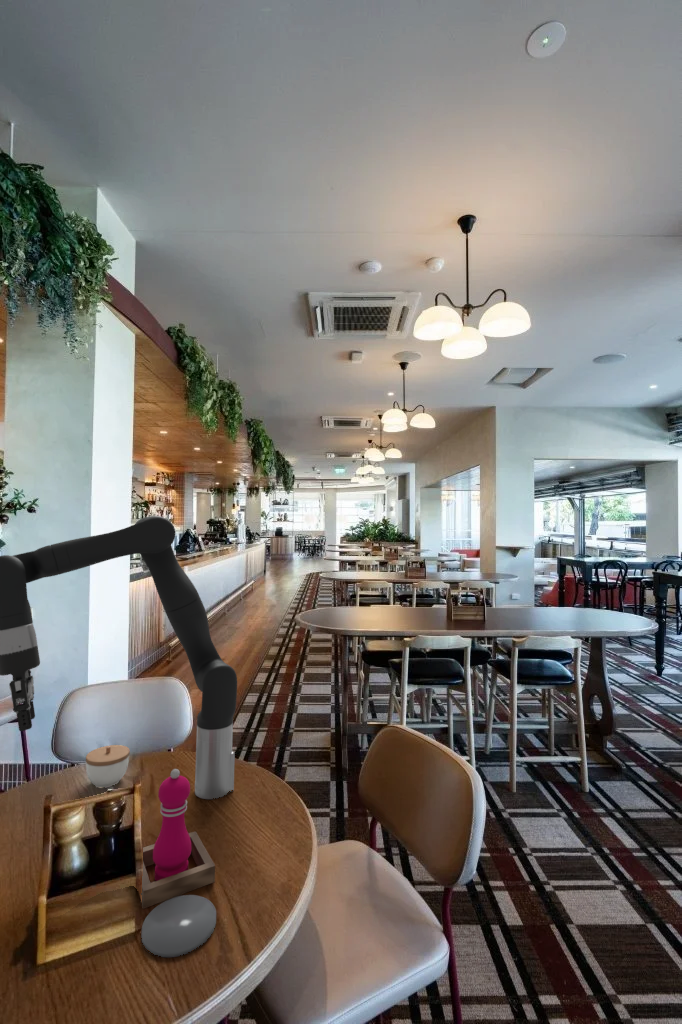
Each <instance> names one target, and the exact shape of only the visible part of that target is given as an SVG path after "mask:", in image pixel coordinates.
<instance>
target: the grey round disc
mask: <svg viewBox="0 0 682 1024" xmlns="http://www.w3.org/2000/svg"><path fill="white" fill-rule="evenodd" d="M216 925H217V909H216V907H215V905H214V904H213V902H212V901H211V900H209V898H206V897H203V896H201V895H196V894H185V895H184V894H182V895H179V896H176V897H173V898H171V899H168V900H165V901H163V902H160V903H159V904H158V905H157V906H155V907H154V908H153V909H152V910H151V911H149V913H148V915H147V916H146V917H145V919H144V921H143V922H142V927H141V936H140V937H141V938H142V939H141V943H143V944H142V946H143V945H144V946H145V948H146V949H147V950H149V951H150V952H151V953H153V954H154V956H155V955H158V956H157V957H159V956H161V957H160V958H175V957H181V956H183V954H184V955H186V954H187V955H188V954H189V953H188V952H190V953H192V952H193V951H192V950H194V949H195V950H197V949H198V948H200V947H201V946H202V945H204V944H205V943H206V942H207V941H208V940H209V939H208V938H210V937H212V935H213V933H214V931H215V929H214V928H216ZM211 934H212V935H211ZM207 939H208V940H207ZM203 943H204V944H203ZM200 945H201V946H200ZM144 946H143V947H144ZM199 946H200V947H199ZM197 947H198V948H197ZM145 948H144V949H145ZM196 948H197V949H196ZM146 949H145V950H146ZM147 950H146V951H147ZM195 950H194V951H195ZM191 951H192V952H191ZM150 952H149V953H150ZM151 953H150V954H151ZM153 954H152V955H153ZM180 955H181V956H180Z"/></svg>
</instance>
